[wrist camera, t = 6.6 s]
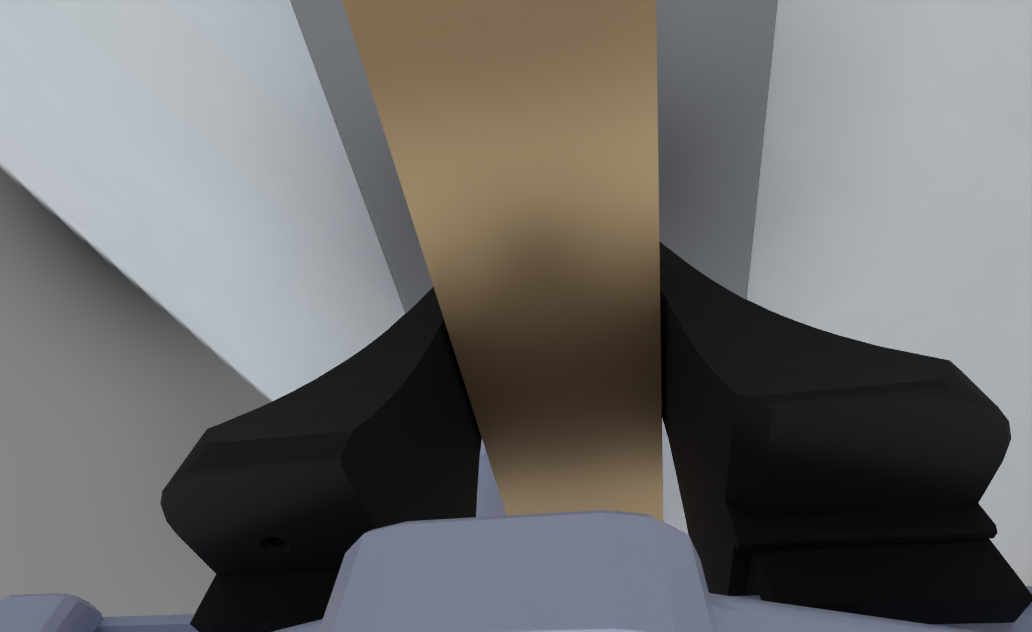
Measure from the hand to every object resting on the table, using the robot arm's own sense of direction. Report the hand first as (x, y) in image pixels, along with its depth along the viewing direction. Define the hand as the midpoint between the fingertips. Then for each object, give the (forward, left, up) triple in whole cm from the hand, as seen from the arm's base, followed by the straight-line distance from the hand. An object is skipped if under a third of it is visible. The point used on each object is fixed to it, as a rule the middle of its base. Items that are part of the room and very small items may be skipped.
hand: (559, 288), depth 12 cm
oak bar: (0, 0, -3) cm, 3 cm away
